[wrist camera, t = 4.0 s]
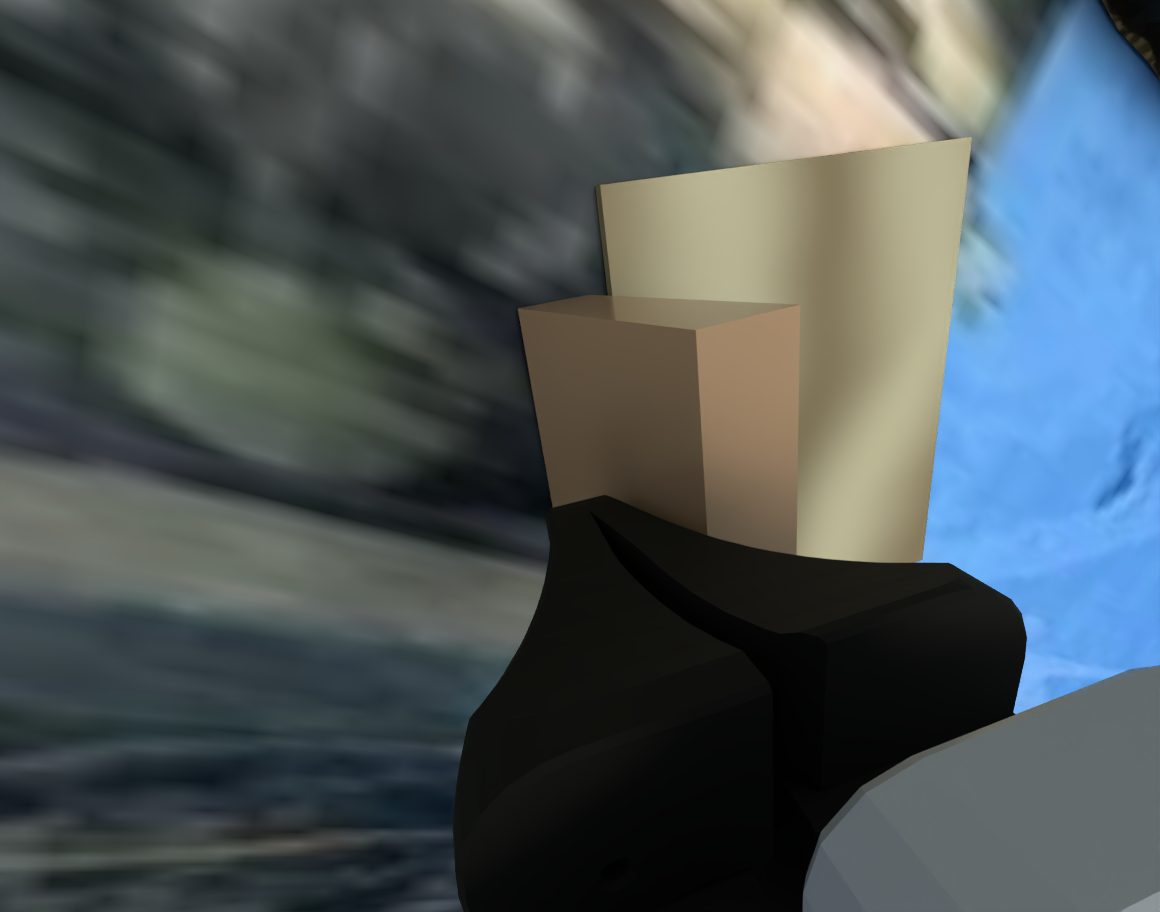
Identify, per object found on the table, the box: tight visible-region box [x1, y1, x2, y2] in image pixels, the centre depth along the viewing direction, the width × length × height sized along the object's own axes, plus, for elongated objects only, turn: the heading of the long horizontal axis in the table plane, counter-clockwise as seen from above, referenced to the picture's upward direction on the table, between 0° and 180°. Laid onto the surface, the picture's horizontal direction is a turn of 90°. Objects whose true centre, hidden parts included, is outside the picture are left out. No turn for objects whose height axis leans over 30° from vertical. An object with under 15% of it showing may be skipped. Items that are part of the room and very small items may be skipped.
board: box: [595, 137, 972, 563], centre depth 17 cm, size 11×14×1 cm
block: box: [518, 295, 800, 555], centre depth 13 cm, size 2×9×7 cm, turn 9°
